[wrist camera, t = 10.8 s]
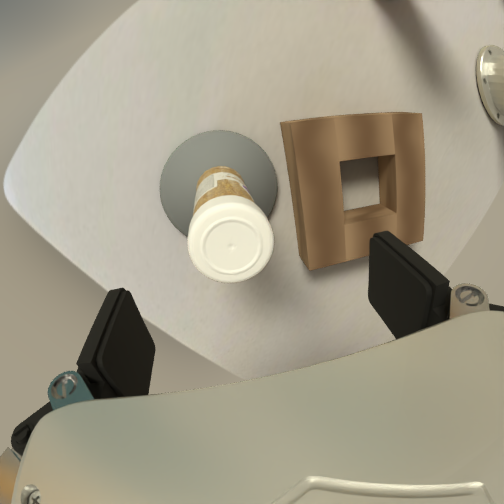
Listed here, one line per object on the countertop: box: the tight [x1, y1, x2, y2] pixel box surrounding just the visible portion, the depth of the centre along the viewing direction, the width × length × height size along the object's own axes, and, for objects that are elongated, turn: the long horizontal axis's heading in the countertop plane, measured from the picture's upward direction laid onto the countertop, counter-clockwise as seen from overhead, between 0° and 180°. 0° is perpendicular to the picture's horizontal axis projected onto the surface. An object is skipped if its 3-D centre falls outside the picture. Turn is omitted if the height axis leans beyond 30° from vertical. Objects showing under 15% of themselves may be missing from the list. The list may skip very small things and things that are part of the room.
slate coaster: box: [160, 130, 277, 236], centre depth 28 cm, size 11×11×1 cm
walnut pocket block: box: [280, 112, 425, 271], centre depth 28 cm, size 14×14×4 cm
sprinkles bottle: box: [188, 166, 274, 283], centre depth 21 cm, size 5×5×13 cm
